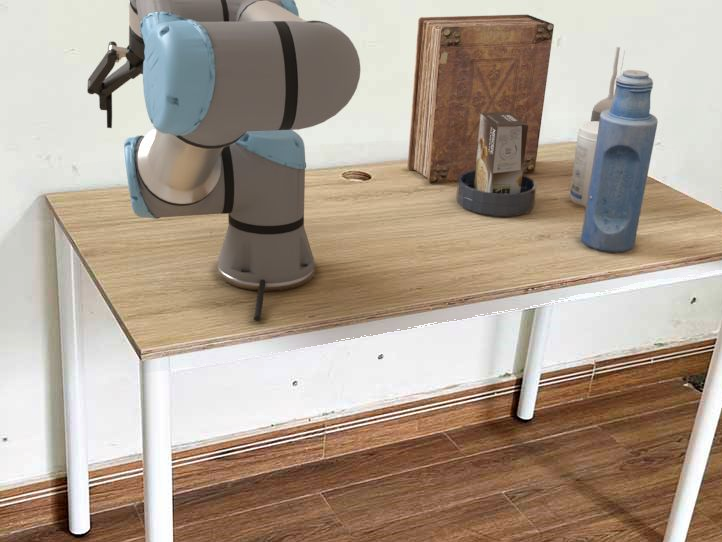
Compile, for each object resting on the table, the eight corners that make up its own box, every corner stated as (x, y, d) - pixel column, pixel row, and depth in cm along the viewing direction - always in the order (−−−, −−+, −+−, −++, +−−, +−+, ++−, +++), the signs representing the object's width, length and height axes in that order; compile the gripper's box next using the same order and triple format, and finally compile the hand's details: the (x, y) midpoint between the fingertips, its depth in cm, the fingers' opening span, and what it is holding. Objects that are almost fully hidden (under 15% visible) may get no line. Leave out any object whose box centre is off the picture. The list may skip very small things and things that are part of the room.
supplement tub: (622, 199, 210) (635, 125, 202) (611, 213, 202) (624, 137, 195) (575, 190, 213) (586, 117, 205) (562, 204, 205) (573, 129, 198)
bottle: (636, 238, 192) (668, 69, 177) (632, 257, 183) (664, 82, 168) (583, 230, 193) (610, 62, 178) (577, 249, 185) (604, 74, 170)
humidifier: (597, 159, 232) (616, 41, 219) (626, 169, 227) (647, 49, 214) (572, 165, 227) (590, 45, 215) (601, 175, 222) (621, 53, 209)
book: (428, 184, 210) (440, 27, 195) (407, 169, 217) (417, 17, 202) (535, 172, 221) (554, 23, 206) (511, 159, 228) (529, 13, 213)
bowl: (547, 214, 199) (550, 191, 197) (476, 220, 194) (479, 197, 192) (511, 188, 211) (514, 166, 209) (444, 193, 206) (446, 171, 204)
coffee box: (519, 209, 200) (530, 125, 192) (488, 211, 198) (497, 126, 190) (501, 193, 207) (510, 111, 199) (471, 194, 205) (479, 112, 197)
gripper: (236, 18, 165) (225, 114, 183) (69, 0, 159) (75, 102, 177) (238, 52, 162) (226, 147, 180) (67, 35, 156) (73, 136, 174)
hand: (151, 125), depth 179 cm, fingers open, 13 cm apart
